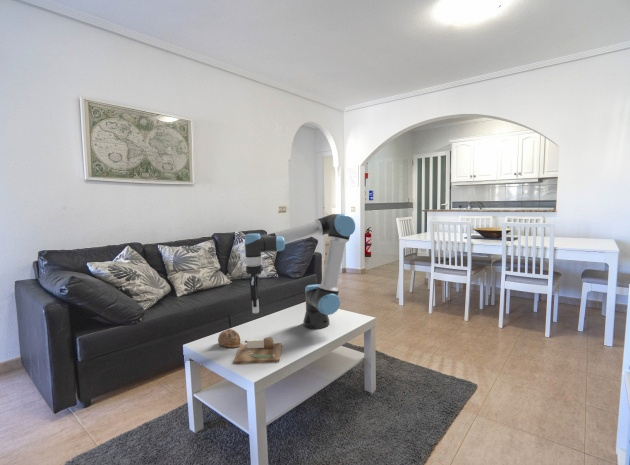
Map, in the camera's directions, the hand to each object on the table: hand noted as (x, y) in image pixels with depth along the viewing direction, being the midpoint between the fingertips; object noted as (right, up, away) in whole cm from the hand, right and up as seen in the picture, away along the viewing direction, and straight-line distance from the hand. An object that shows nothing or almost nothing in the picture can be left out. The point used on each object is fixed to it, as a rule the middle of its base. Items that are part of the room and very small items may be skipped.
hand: (255, 312), depth 163 cm
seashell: (-13, -17, +2) cm, 22 cm away
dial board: (+3, -17, -10) cm, 20 cm away
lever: (+3, -15, -6) cm, 17 cm away
